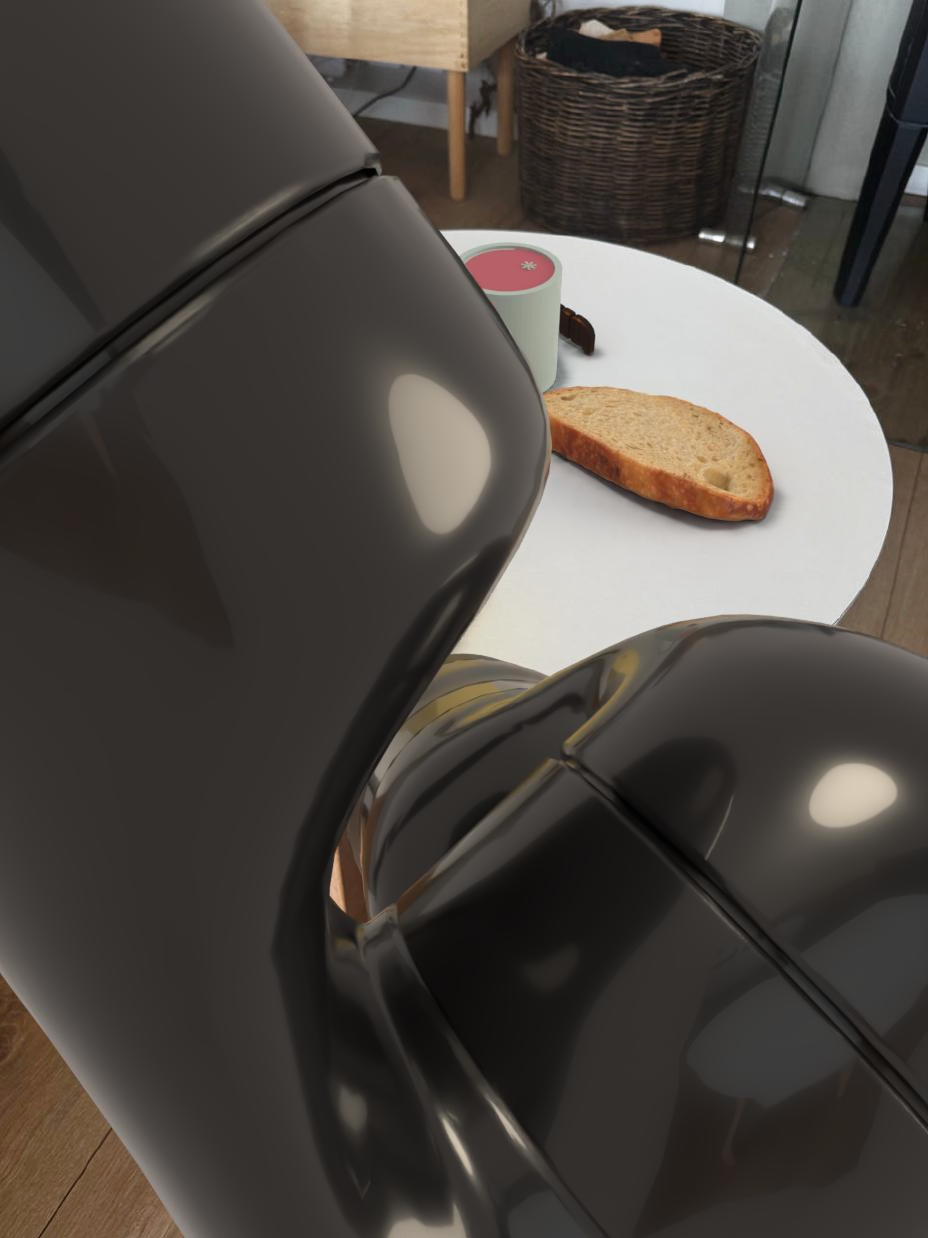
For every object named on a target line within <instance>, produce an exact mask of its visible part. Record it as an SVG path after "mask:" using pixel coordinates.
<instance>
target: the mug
mask: <svg viewBox="0 0 928 1238" xmlns="http://www.w3.org/2000/svg"><path fill="white" fill-rule="evenodd" d="M458 256H459V257H460V258H461V260H462V261H463V262H464V264H465V265H466V267H467V268H468V269H469V271H470V272H471V274H472V275H473V276H474V278H475V279H476V281H477V282H478V283H479V285H480V286H481V287H482V289H483V290H484V292H485V293H486V294H487V296H488V297H489V299H490V300H491V301H492V303H493V304H494V306H495V307H496V308H497V310H498V311H499V312H500V314H501V316H502V317H503V319H504V321H505V322H506V324H507V326H508V327H509V329H510V331H511V332H512V334H513V336H514V337H515V339H516V341H517V342H518V344H519V346H520V347H521V349H522V351H523V352H524V354H525V356H526V358H527V359H528V361H529V363H530V364H531V366H532V368H533V371H534V373H535V375H536V378H537V380H538V382H539V384H540V387H541V389H542V392H543V394H544V393H546V392H548V390H549V389H550V388H551V387H552V386H553V385H554V383H555V382H556V378H557V369H558V368H557V367H558V355H559V354H558V353H559V352H558V351H559V335H560V333H559V318H560V303H561V299H562V298H561V297H562V281H563V264H562V262H561V260H560V259H559V258H558V257H557V255H555V254H554V253H552V252H551V251H549V250H547V249H545V248H543V247H540V246H537V245H533V244H529V243H522V242H514V241H513V242H512V241H511V242H509V241H507V242H504V241H503V242H493V243H487V244H481V245H477V246H475V247H472V248H470V249H468V250H466V251H464V252H462V253H461V254H460V255H458Z"/></svg>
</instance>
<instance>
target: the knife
mask: <svg viewBox="0 0 928 1238" xmlns="http://www.w3.org/2000/svg"><path fill="white" fill-rule="evenodd" d="M559 335H561V336H562V337H563V338H565V339H566V340H570V341H571V342H572V343H573V344H575V345H577V346H579V347H580V348H581V349H582V350H583V352H584V354H585V356H588V355H591V354H593V353H594V352H595V346H596V331H595V328H594V326H593V324H592V323H591V322H590V320H589V319H587V318H586V317H584V316H582V315H581V314H580V313H576V311H575V310H573V309H571V308H569V307H566V306H565V305H564V304H562V303H561V302H560V318H559Z"/></svg>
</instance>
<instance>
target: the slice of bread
mask: <svg viewBox="0 0 928 1238" xmlns="http://www.w3.org/2000/svg"><path fill="white" fill-rule="evenodd" d="M543 396H544V399H545V403H546V406H547V410H548V413H549V420H550V430H551V439H552V451H553V452H556V453H559V454H560V455H561V456H562V457H564V458H565V459H566V460H569V461H571V462H575V463H576V464H578V465H580V466H581V467H582V468H583V469H585V470H588V471H591V472H593V473H594V474H596V475H597V476H599V477H601V478H602V479H605V480H606V481H608V482H611V483H613V484H616V485H617V486H619V487H620V488H622V489H623V490H624V489H625V490H627V491H630V492H633V493H634V494H636V495H638V496H639V497H641V498H643V499H646V500H649V501H653V502H658V503H662V504H664V505H666V506H667V507H669V508H670V509H674V510H683V511H686V512H688V513H691V514H694V515H697V516H701V517H703V518H707V519H713V520H720V521H727V522H740V521H746V520H750V521H759V520H761V519H763V518H765V517H766V516H767V514H768V511H769V508H770V507H771V505H772V502H773V499H774V496H775V485H774V480H773V477H772V473H771V470H770V468H769V464H768V461H767V460H766V458H765V456H764V453H763V452H762V450H761V447H760V446H759V444H758V443H757V441H756V440H755V438H754V437H753V436H752V434H751V433H749V432H748V431H746V430H745V429H743V428H742V427H740V426H738V425H737V424H735V423H733V421H731V420H730V419H728V418H726V417H724V416H723V415H722V414H720V413H719V412H717V411H716V412H715V411H712V410H710V409H708V408H707V407H705V406H701V405H696V404H694V403H692V402H690V401H688V400H685V399H681V398H678V397H677V396H670V395H663V394H661V395H654V394H649V393H647V392H640V391H635V390H631V389H628V388H620V387H619V388H618V387H613V386H580V385H578V386H577V385H576V386H571V387H561V388H557V389H555V390H550V391H545V392H544V393H543Z"/></svg>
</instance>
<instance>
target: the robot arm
mask: <svg viewBox="0 0 928 1238" xmlns="http://www.w3.org/2000/svg"><path fill="white" fill-rule="evenodd" d="M338 97H339V96H337V95H336V92H334V90H333V89H332V88H331V87H330V86H329V84H328V82H327V81H326V80H325V78H323V76H322V74H321V73H320V72H319V71H318V69H317V68H316V67H315V65H314V64H313V63H312V62H311V61H310V59H309V58H308V56H307V55H306V54H305V53H304V51H303V49H302V48H301V47H300V46H299V45H298V43H297V42H296V41H295V40H294V38H293V37H292V35H291V34H290V33H289V31H288V30H287V29H286V27H285V26H284V25H283V23H282V22H281V20H280V19H279V18H278V17H277V15H275V13H274V12H273V10H272V9H271V8H270V7H269V4H267V3H266V1H265V0H0V975H1V976H2V978H3V979H4V980H5V982H6V983H7V984H8V986H9V987H10V989H11V990H12V991H13V993H14V994H15V996H16V997H17V998H18V999H19V1000H20V1002H21V1003H22V1004H23V1006H24V1008H25V1009H26V1010H27V1011H28V1013H29V1014H30V1015H31V1017H32V1018H33V1020H34V1021H35V1022H36V1023H37V1024H38V1026H39V1027H40V1029H41V1030H42V1032H43V1033H44V1034H45V1035H46V1037H47V1038H48V1040H49V1041H50V1043H51V1044H52V1046H53V1047H54V1048H55V1050H56V1051H57V1052H58V1054H59V1055H60V1056H61V1058H62V1060H63V1061H64V1063H65V1064H66V1065H67V1067H68V1068H69V1070H70V1071H71V1072H72V1074H73V1075H74V1076H75V1078H76V1080H77V1081H78V1082H79V1084H80V1085H81V1086H82V1088H83V1090H84V1091H85V1092H86V1093H87V1095H88V1096H89V1098H90V1099H91V1100H92V1102H93V1103H94V1105H95V1106H96V1108H97V1109H98V1110H99V1112H100V1114H101V1115H102V1116H103V1117H104V1119H105V1120H106V1122H107V1124H108V1125H109V1126H110V1127H111V1129H112V1130H113V1132H114V1133H115V1135H116V1136H117V1137H118V1139H119V1140H120V1142H121V1144H123V1146H124V1147H125V1149H126V1150H127V1152H128V1153H129V1154H130V1156H131V1157H132V1158H133V1160H134V1161H135V1163H136V1165H137V1166H138V1167H139V1169H140V1171H141V1172H142V1173H143V1175H144V1176H145V1178H146V1180H147V1182H148V1183H149V1184H150V1186H151V1187H152V1189H153V1190H154V1192H155V1194H156V1195H157V1197H158V1198H159V1201H160V1202H161V1203H162V1205H163V1206H164V1208H165V1209H166V1212H167V1213H168V1214H169V1216H170V1217H171V1219H172V1221H173V1223H175V1225H176V1227H177V1228H178V1230H179V1231H180V1233H181V1235H182V1236H183V1238H928V656H926V655H924V654H922V653H919V652H918V651H915V650H913V649H910V648H908V647H905V646H904V645H903V646H902V645H900V644H898V643H897V644H896V643H895V642H892V641H889V640H886V639H884V638H881V637H878V636H875V635H871V634H868V633H865V632H861V631H857V630H854V629H851V628H847V627H843V626H840V625H835V624H829V623H826V622H825V623H824V622H819V621H813V620H807V619H801V618H799V619H798V618H795V617H794V618H793V617H787V616H786V617H785V616H779V615H767V614H750V613H740V614H739V613H738V614H733V613H732V614H731V613H730V614H718V615H711V616H705V617H697V618H692V619H686V620H679V621H675V622H671V623H667V624H663V625H660V626H657V627H654V628H651V629H648V630H645V631H643V632H640V633H638V634H635V635H632V636H630V637H628V638H625V639H623V640H621V641H619V642H617V643H614V644H612V645H609V646H607V647H606V648H604V649H601V650H599V651H597V652H595V653H593V654H591V655H589V656H587V657H585V658H583V659H581V660H579V661H577V662H575V663H573V664H570V665H568V666H567V667H565V668H562V669H560V670H558V671H557V672H554V673H553V674H551V675H547V674H545V673H543V672H541V671H538V670H535V669H531V668H528V667H524V666H521V665H519V664H517V663H516V664H515V663H512V662H508V661H505V660H502V659H498V658H495V657H492V656H488V655H483V654H475V653H453V651H454V650H455V649H456V647H457V646H458V644H459V643H460V641H461V640H462V639H463V637H464V636H465V635H466V633H467V631H468V630H469V629H470V628H471V626H472V624H473V622H475V620H476V619H477V618H478V616H479V614H480V613H481V612H482V610H483V609H484V608H485V606H486V605H487V603H488V601H489V600H490V598H491V596H492V594H493V593H494V591H495V590H496V588H497V586H498V584H499V583H500V581H501V579H502V578H503V576H504V574H505V572H506V571H507V569H508V567H509V566H510V565H511V562H512V561H513V559H514V557H515V556H516V553H517V552H518V550H519V549H520V547H521V545H522V543H523V541H524V538H525V536H526V534H527V533H528V531H529V528H530V526H531V524H532V522H533V519H534V517H535V515H536V513H537V511H538V509H539V506H540V504H541V502H542V499H543V496H544V492H545V489H546V485H547V482H548V478H549V476H550V470H551V469H550V468H551V461H552V451H553V450H552V439H551V430H550V420H549V413H548V410H547V406H546V403H545V399H544V396H543V394H544V393H543V392H542V389H541V387H540V384H539V382H538V380H537V378H536V375H535V373H534V371H533V368H532V366H531V364H530V363H529V361H528V359H527V358H526V356H525V354H524V352H523V351H522V349H521V347H520V346H519V344H518V342H517V341H516V339H515V337H514V336H513V334H512V332H511V331H510V329H509V327H508V326H507V324H506V322H505V321H504V319H503V317H502V316H501V314H500V312H499V311H498V310H497V308H496V307H495V306H494V304H493V303H492V301H491V300H490V299H489V297H488V296H487V294H486V293H485V292H484V290H483V289H482V287H481V286H480V285H479V283H478V282H477V281H476V279H475V278H474V276H473V275H472V274H471V272H470V271H469V269H468V268H467V267H466V265H465V264H464V262H463V261H462V260H461V258H460V257H459V256H460V255H459V254H458V253H457V251H456V250H455V249H454V247H453V246H452V245H451V244H450V242H449V241H448V240H447V238H446V236H444V235H443V233H442V232H441V231H440V229H439V228H438V227H437V225H436V224H435V223H434V222H433V220H432V219H431V218H430V217H429V215H428V214H427V212H426V211H425V210H424V209H423V207H422V206H421V205H420V203H419V202H418V201H417V200H416V198H415V197H414V195H413V194H412V193H411V192H410V190H409V189H408V188H407V187H406V185H405V184H404V182H403V181H402V179H401V178H400V177H399V176H398V175H390V174H384V175H382V172H383V158H382V154H381V153H380V151H379V149H377V148H376V146H375V144H374V143H373V142H372V141H371V139H370V138H369V137H368V135H367V134H366V132H365V131H364V130H363V129H362V128H361V126H360V125H359V123H358V122H357V121H356V119H355V118H354V117H353V115H352V114H351V113H350V111H349V110H348V109H347V108H346V106H345V105H344V104H343V103H342V101H341V100H340V98H338ZM346 829H347V837H346V840H347V843H348V847H349V850H350V852H351V855H352V858H353V860H354V861H355V864H356V866H357V868H358V869H359V872H360V875H361V877H362V889H363V897H364V903H365V908H366V913H367V918H368V921H365V922H361V921H358V920H356V919H354V918H353V917H352V916H351V915H349V914H348V913H347V912H346V911H344V910H343V909H342V908H341V907H340V905H338V903H337V902H336V901H335V900H334V899H333V897H332V896H331V882H332V877H333V870H334V864H335V859H336V858H335V857H336V853H337V849H338V847H339V845H340V843H341V841H342V838H343V836H344V834H345V831H346Z"/></svg>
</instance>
